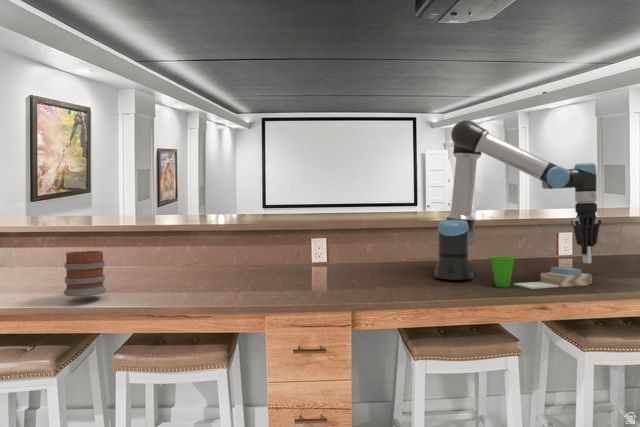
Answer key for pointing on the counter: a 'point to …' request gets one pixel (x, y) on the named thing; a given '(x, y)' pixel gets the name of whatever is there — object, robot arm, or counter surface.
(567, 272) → the card
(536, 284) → the mat
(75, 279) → the mug
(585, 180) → the robot arm
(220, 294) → the counter surface
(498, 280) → the cup
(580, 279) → the light wood flat block
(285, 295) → the counter surface
